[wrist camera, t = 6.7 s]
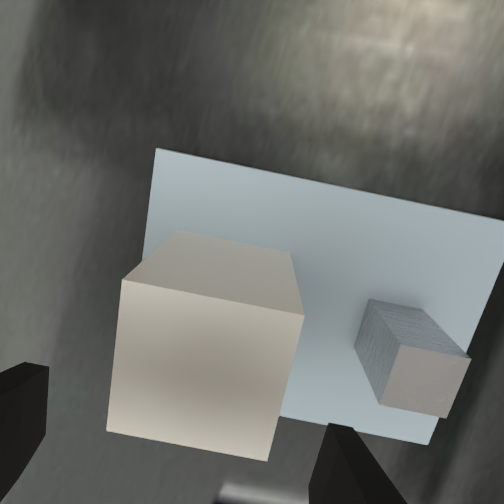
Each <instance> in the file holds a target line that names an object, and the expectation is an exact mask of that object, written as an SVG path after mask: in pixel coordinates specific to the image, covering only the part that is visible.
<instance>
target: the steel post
mask: <svg viewBox="0 0 504 504" xmlns="http://www.w3.org/2000/svg"><path fill="white" fill-rule="evenodd" d="M354 349H355V351H356V353H357V356H358V358H359V360H360V362H361V365H362V367H363V369H364V372H365V374H366V376H367V378H368V381H369V383H370V385H371V387H372V390H373V392H374V394H375V397H376V399H377V401H378V403H379V405H382V406H387V407H392V408H397V409H402V410H407V411H412V412H417V413H422V414H427V415H432V416H437V417H442V418H447V416H448V413H449V411H450V409H451V406H452V404H453V402H454V399H455V397H456V394H457V392H458V390H459V387H460V385H461V382H462V380H463V378H464V375H465V373H466V371H467V368H468V366H469V363H470V361H471V358H470V357H469V356H468V355H467V354H466V353H465V352H464V351H463V350H462V349H461V348H460V347H459V346H458V345H457V344H456V343H455V342H454V341H453V340H452V339H451V338H450V337H449V336H448V335H447V333H446V332H445V331H444V330H443V329H442V328H441V327H440V326H439V325H438V324H437V323H436V322H435V321H434V320H433V319H432V318H431V317H430V316H429V315H428V314H427V313H426V312H425V311H424V310H423V309H418V308H413V307H408V306H404V305H399V304H394V303H389V302H384V301H379V300H374V299H370V298H369V300H368V303H367V306H366V309H365V313H364V316H363V319H362V322H361V325H360V328H359V332H358V335H357V338H356V341H355V344H354Z"/></svg>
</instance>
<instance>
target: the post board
mask: <svg viewBox="0 0 504 504" xmlns="http://www.w3.org/2000/svg"><path fill="white" fill-rule="evenodd" d="M177 229H178V230H183V231H188V232H193V233H198V234H203V235H208V236H213V237H218V238H223V239H228V240H233V241H238V242H243V243H248V244H253V245H258V246H263V247H268V248H273V249H277V250H282V251H287V252H290V253H291V258H292V262H293V266H294V271H295V275H296V279H297V284H298V288H299V292H300V297H301V301H302V306H303V310H304V314H305V317H304V321H303V325H302V328H301V332H300V336H299V340H298V344H297V348H296V352H295V355H294V359H293V363H292V367H291V371H290V375H289V379H288V382H287V386H286V390H285V394H284V398H283V402H282V406H281V409H280V413H279V416H283V417H288V418H293V419H298V420H303V421H308V422H313V423H318V424H324V425H328V423H334V424H339V425H344V426H350V427H353V428H354V430H355V431H359V432H364V433H369V434H374V435H379V436H384V437H389V438H394V439H399V440H404V441H409V442H414V443H419V444H424V445H428V443H429V441H430V438H431V436H432V433H433V431H434V429H435V426H436V424H437V421H438V419H439V417H437V416H432V415H427V414H422V413H417V412H412V411H407V410H402V409H397V408H392V407H387V406H382V405H379V403H378V401H377V399H376V397H375V394H374V392H373V390H372V387H371V385H370V383H369V381H368V378H367V376H366V374H365V372H364V369H363V367H362V365H361V362H360V360H359V358H358V356H357V353H356V351H355V349H354V344H355V341H356V338H357V335H358V332H359V328H360V325H361V322H362V319H363V316H364V313H365V309H366V306H367V303H368V300H369V298H370V299H374V300H379V301H384V302H389V303H394V304H399V305H404V306H408V307H413V308H418V309H423V310H424V311H425V312H426V313H427V314H428V315H429V316H430V317H431V318H432V319H433V320H434V321H435V322H436V323H437V324H438V325H439V326H440V327H441V328H442V329H443V330H444V331H445V332H446V333H447V335H448V336H449V337H450V338H451V339H452V340H453V341H454V342H455V343H456V344H457V345H458V346H459V347H460V348H461V349H462V350H463V351H464V352H465V353H466V351H467V349H468V346H469V344H470V342H471V339H472V337H473V334H474V332H475V329H476V327H477V325H478V322H479V320H480V317H481V315H482V313H483V310H484V308H485V305H486V303H487V300H488V298H489V296H490V293H491V291H492V288H493V286H494V283H495V281H496V279H497V276H498V274H499V271H500V269H501V267H502V264H503V262H504V220H500V219H495V218H490V217H485V216H481V215H476V214H471V213H466V212H462V211H457V210H452V209H447V208H443V207H438V206H433V205H428V204H424V203H419V202H414V201H409V200H405V199H400V198H395V197H390V196H386V195H381V194H376V193H371V192H367V191H362V190H357V189H352V188H348V187H343V186H338V185H333V184H329V183H324V182H319V181H314V180H310V179H305V178H300V177H295V176H291V175H286V174H281V173H276V172H272V171H267V170H262V169H257V168H253V167H248V166H243V165H238V164H234V163H229V162H224V161H219V160H215V159H210V158H205V157H200V156H196V155H191V154H186V153H181V152H177V151H172V150H167V149H162V148H156V153H155V161H154V169H153V177H152V185H151V193H150V201H149V209H148V217H147V225H146V233H145V241H144V249H143V257H142V261H143V260H144V259H145V258H147V257H148V256H149V255H150V254H151V253H152V252H153V251H154V250H155V249H156V248H158V247H159V246H160V245H161V244H162V243H163V242H164V241H165V240H166V239H168V238H169V237H170V236H171V235H172V234H173V233H174V232H175V231H176V230H177Z"/></svg>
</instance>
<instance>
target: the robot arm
mask: <svg viewBox="0 0 504 504" xmlns="http://www.w3.org/2000/svg"><path fill="white" fill-rule="evenodd" d="M48 381H49V367H48V366H43V365H38V364H33V363H27V362H24V363H21V364H19V365H16V366H14V367H12V368H9V369H7V370H5V371H3V372H1V373H0V502H1V501H2V499H3V498H4V497H5V495H6V494H7V493H8V492H9V490H10V489H11V488H12V486H13V485H14V484H15V482H16V481H17V480H18V478H19V477H20V475H21V474H22V472H23V471H24V469H25V467H26V466H27V464H28V463H29V461H30V460H31V458H32V456H33V455H34V453H35V451H36V450H37V448H38V446H39V445H40V443H41V441H42V440H43V438H44V436H45V434H46V416H47V398H48ZM309 504H407V503H406V501H405V500H404V498H403V497H402V496H401V494H400V493H399V492H398V490H397V489H396V488H395V486H394V485H393V483H392V482H391V481H390V479H389V478H388V476H387V475H386V474H385V472H384V471H383V469H382V468H381V467H380V465H379V464H378V462H377V461H376V459H375V458H374V457H373V455H372V454H371V452H370V451H369V449H368V448H367V447H366V445H365V444H364V442H363V441H362V439H361V438H360V437H359V435H358V434H357V432H356V431H355V430H354V428H353V427H350V426H344V425H339V424H334V423H328V426H327V429H326V432H325V435H324V438H323V442H322V445H321V448H320V451H319V454H318V458H317V461H316V464H315V467H314V470H313V473H312V477H311V480H310V483H309Z"/></svg>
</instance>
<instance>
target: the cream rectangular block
mask: <svg viewBox="0 0 504 504" xmlns="http://www.w3.org/2000/svg"><path fill="white" fill-rule="evenodd" d="M304 317H305V314H304V310H303V306H302V301H301V297H300V292H299V288H298V284H297V279H296V275H295V271H294V266H293V262H292V258H291V253H290V252H287V251H282V250H277V249H273V248H268V247H263V246H258V245H253V244H248V243H243V242H238V241H233V240H228V239H223V238H218V237H213V236H208V235H203V234H198V233H193V232H188V231H183V230H178V229H177V230H176V231H175V232H174V233H173V234H172V235H171V236H170V237H169V238H168V239H166V240H165V241H164V242H163V243H162V244H161V245H160V246H159V247H158V248H156V249H155V250H154V251H153V252H152V253H151V254H150V255H149V256H148V257H147V258H145V259H144V260H143V261H142V262H141V263H140V264H139V265H138V266H137V267H135V268H134V269H133V270H132V271H131V272H130V273H129V274H128V275H127V276H126V277H124V278H123V279H122V286H121V295H120V305H119V314H118V324H117V333H116V343H115V353H114V362H113V372H112V381H111V391H110V400H109V410H108V420H107V429H106V431H110V432H115V433H120V434H126V435H131V436H136V437H141V438H147V439H152V440H157V441H162V442H168V443H173V444H178V445H183V446H189V447H194V448H199V449H204V450H210V451H215V452H220V453H225V454H231V455H236V456H241V457H246V458H252V459H257V460H262V461H267V460H268V456H269V452H270V448H271V444H272V440H273V436H274V433H275V429H276V425H277V421H278V417H279V413H280V409H281V406H282V402H283V398H284V394H285V390H286V386H287V382H288V379H289V375H290V371H291V367H292V363H293V359H294V355H295V352H296V348H297V344H298V340H299V336H300V332H301V328H302V325H303V321H304Z"/></svg>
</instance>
